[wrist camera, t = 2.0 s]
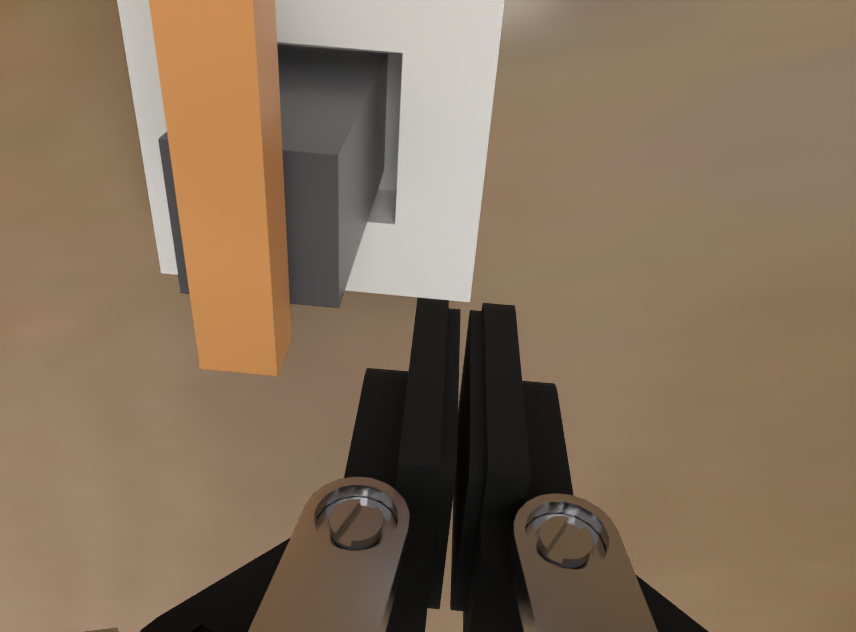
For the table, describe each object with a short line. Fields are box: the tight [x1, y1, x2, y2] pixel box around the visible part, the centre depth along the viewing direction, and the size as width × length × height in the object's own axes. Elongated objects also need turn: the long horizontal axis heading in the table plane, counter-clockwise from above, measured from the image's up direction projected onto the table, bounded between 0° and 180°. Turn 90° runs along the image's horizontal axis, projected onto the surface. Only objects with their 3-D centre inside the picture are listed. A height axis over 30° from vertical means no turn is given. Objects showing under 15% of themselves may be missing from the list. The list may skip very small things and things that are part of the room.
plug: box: [158, 44, 388, 308], centre depth 23 cm, size 4×4×10 cm
